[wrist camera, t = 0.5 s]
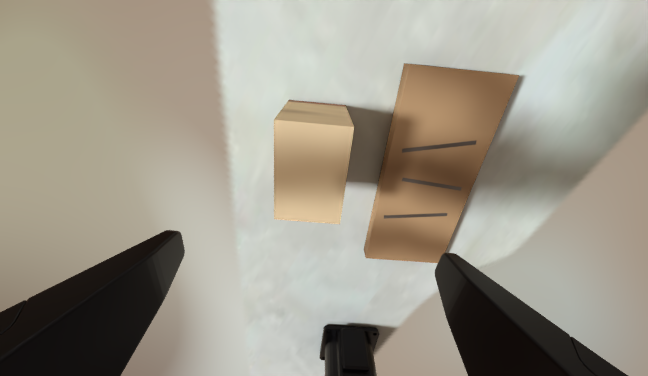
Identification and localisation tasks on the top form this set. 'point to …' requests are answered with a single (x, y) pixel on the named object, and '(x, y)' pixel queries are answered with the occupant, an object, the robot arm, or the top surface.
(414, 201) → the board
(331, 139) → the block
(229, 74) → the top surface
